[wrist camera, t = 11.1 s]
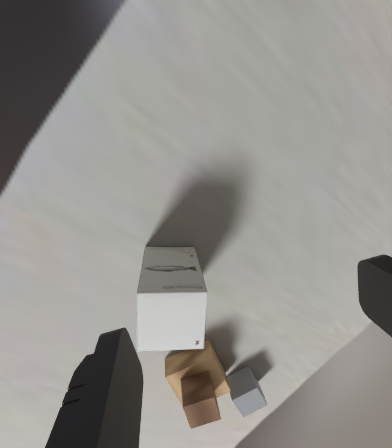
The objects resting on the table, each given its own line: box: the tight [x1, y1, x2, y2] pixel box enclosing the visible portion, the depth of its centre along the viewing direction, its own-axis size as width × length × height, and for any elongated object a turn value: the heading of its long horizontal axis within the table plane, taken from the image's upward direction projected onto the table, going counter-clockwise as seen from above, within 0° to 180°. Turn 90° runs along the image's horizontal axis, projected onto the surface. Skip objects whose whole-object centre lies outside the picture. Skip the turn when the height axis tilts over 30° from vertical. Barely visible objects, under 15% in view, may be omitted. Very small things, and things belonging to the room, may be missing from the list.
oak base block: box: [165, 340, 231, 406], centre depth 43 cm, size 8×8×4 cm
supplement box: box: [136, 247, 207, 352], centre depth 33 cm, size 7×7×13 cm
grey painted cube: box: [227, 366, 267, 417], centre depth 45 cm, size 4×4×4 cm
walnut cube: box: [180, 371, 221, 429], centre depth 39 cm, size 4×4×4 cm
